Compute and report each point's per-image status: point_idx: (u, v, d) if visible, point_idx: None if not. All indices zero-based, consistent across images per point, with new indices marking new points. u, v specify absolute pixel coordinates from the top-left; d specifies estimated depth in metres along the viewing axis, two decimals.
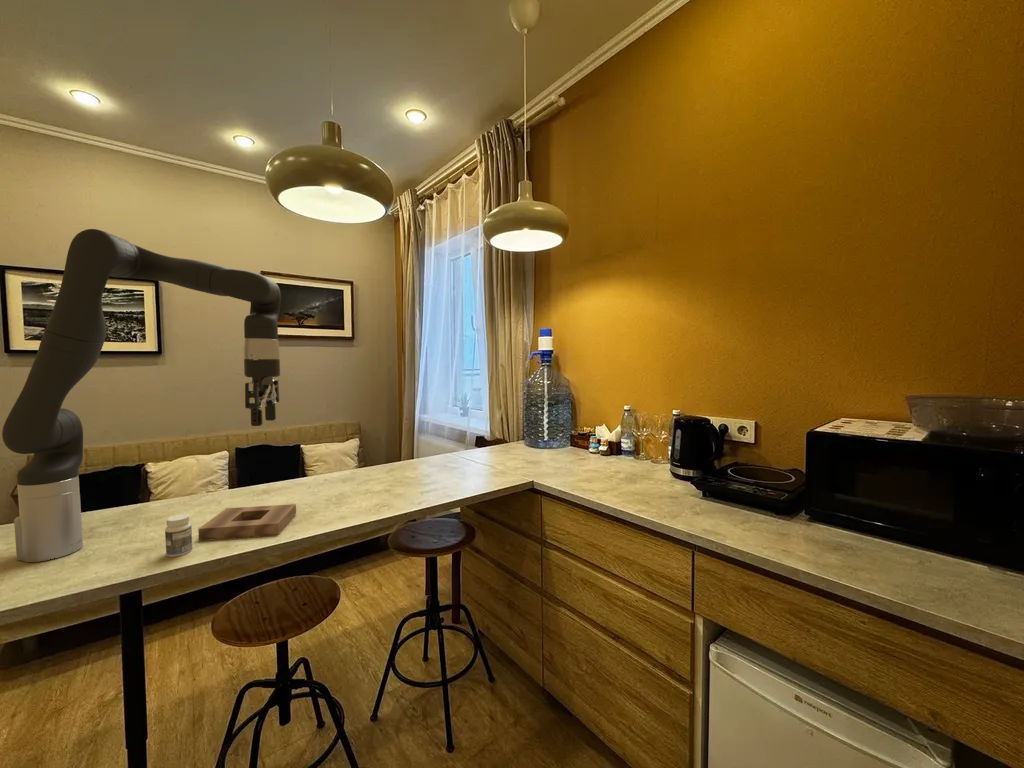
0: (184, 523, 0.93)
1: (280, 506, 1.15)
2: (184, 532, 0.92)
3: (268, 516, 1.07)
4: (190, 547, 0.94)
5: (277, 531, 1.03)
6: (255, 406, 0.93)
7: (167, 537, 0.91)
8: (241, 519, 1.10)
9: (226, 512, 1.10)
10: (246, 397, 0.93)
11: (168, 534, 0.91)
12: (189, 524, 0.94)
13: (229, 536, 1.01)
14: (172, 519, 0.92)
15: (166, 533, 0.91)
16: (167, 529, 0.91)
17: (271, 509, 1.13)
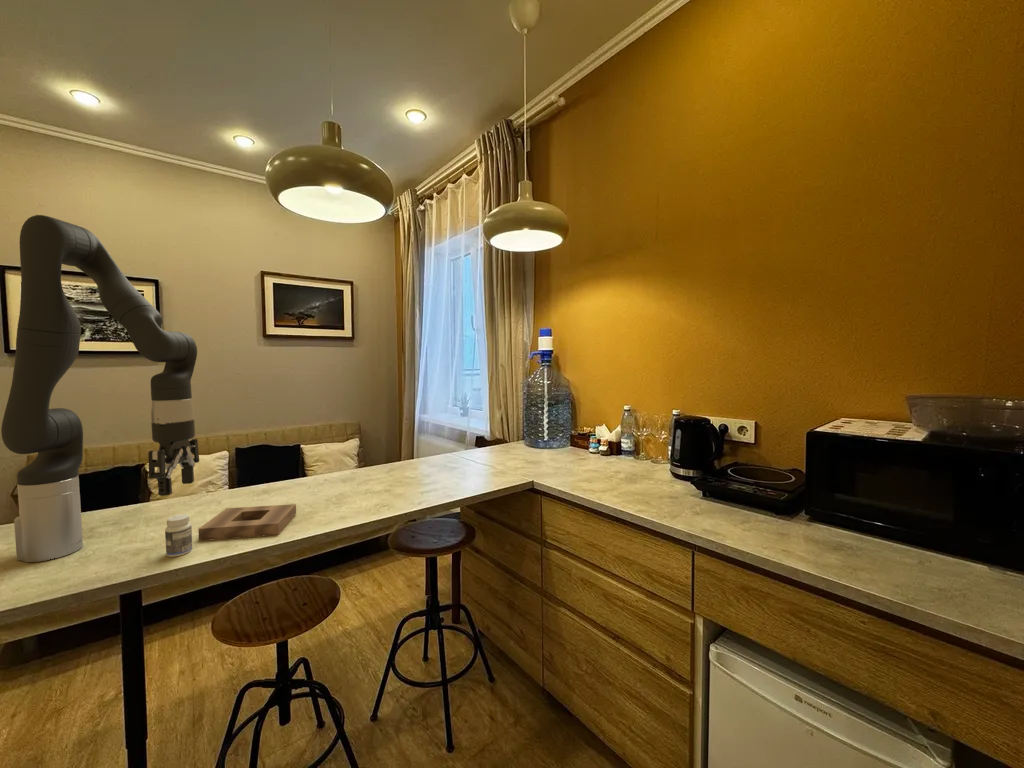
0: (184, 523, 0.93)
1: (280, 506, 1.15)
2: (184, 532, 0.92)
3: (268, 516, 1.07)
4: (190, 547, 0.94)
5: (277, 531, 1.03)
6: (160, 476, 0.86)
7: (167, 537, 0.91)
8: (241, 519, 1.10)
9: (226, 512, 1.10)
10: (150, 467, 0.85)
11: (168, 534, 0.91)
12: (189, 524, 0.94)
13: (229, 536, 1.01)
14: (172, 519, 0.92)
15: (166, 533, 0.91)
16: (167, 529, 0.91)
17: (271, 509, 1.13)
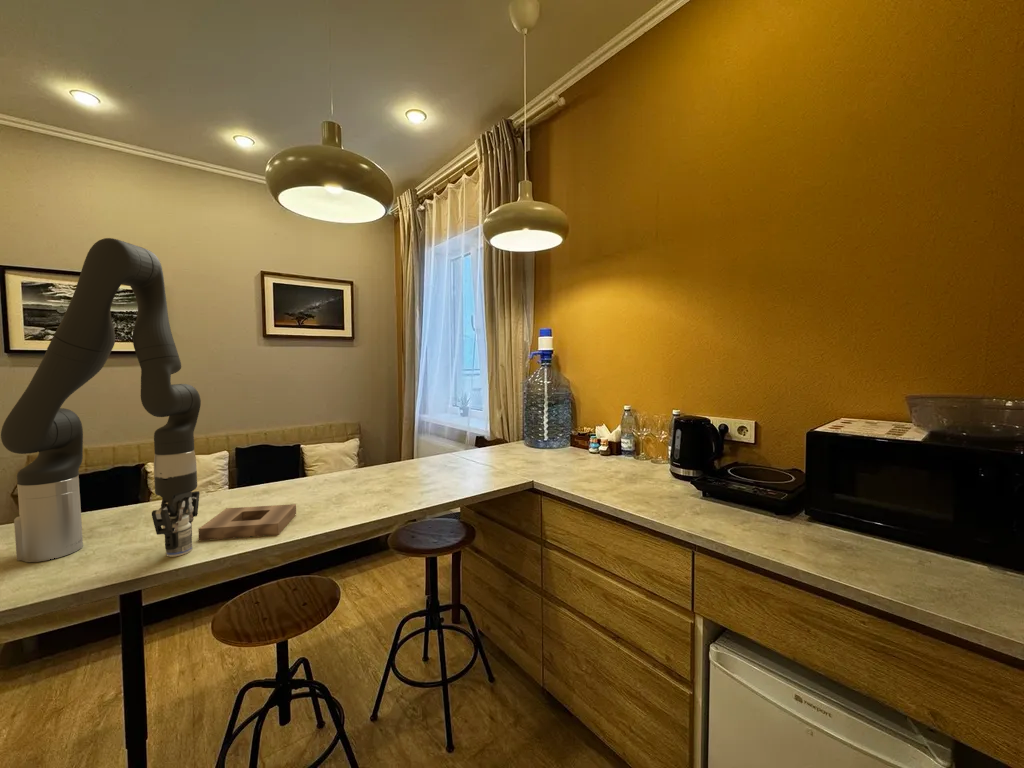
0: (184, 523, 0.93)
1: (280, 506, 1.15)
2: (184, 532, 0.92)
3: (268, 516, 1.07)
4: (190, 547, 0.94)
5: (277, 531, 1.03)
6: (167, 532, 0.88)
7: None
8: (241, 519, 1.10)
9: (226, 512, 1.10)
10: (155, 525, 0.87)
11: None
12: (189, 524, 0.94)
13: (229, 536, 1.01)
14: None
15: None
16: None
17: (271, 509, 1.13)
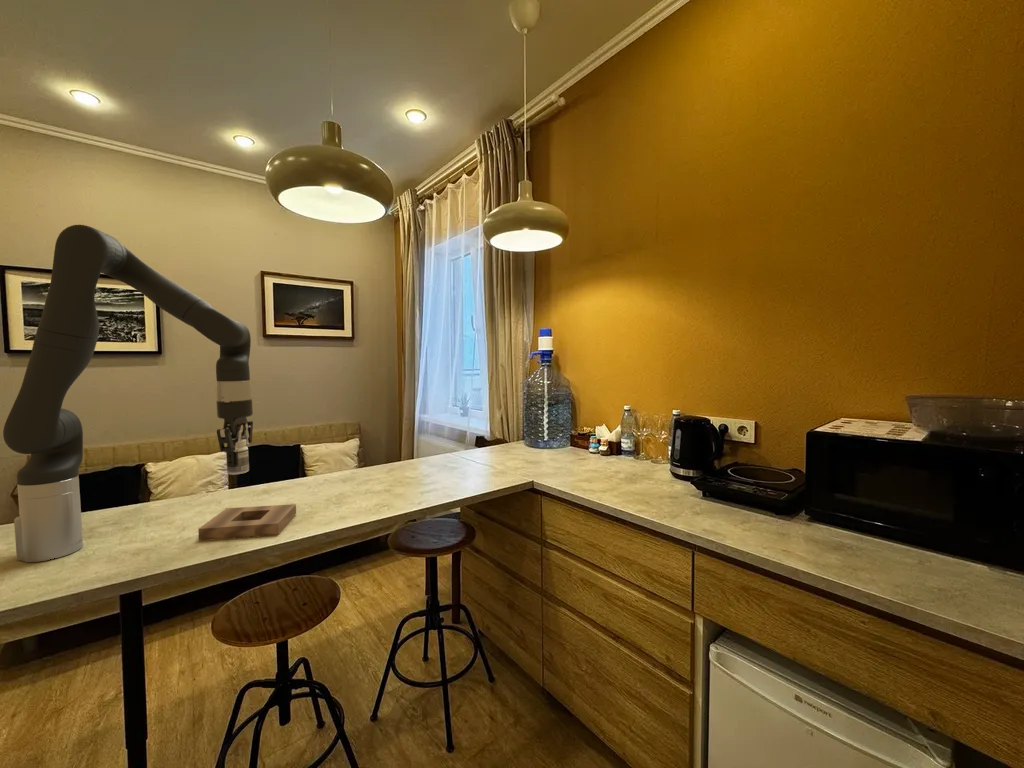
0: (242, 445, 1.03)
1: (280, 506, 1.15)
2: (242, 453, 1.03)
3: (268, 516, 1.07)
4: (247, 467, 1.05)
5: (277, 531, 1.03)
6: (230, 449, 0.99)
7: None
8: (241, 519, 1.10)
9: (226, 512, 1.10)
10: (220, 443, 0.98)
11: None
12: (246, 447, 1.05)
13: (229, 536, 1.01)
14: None
15: None
16: None
17: (271, 509, 1.13)
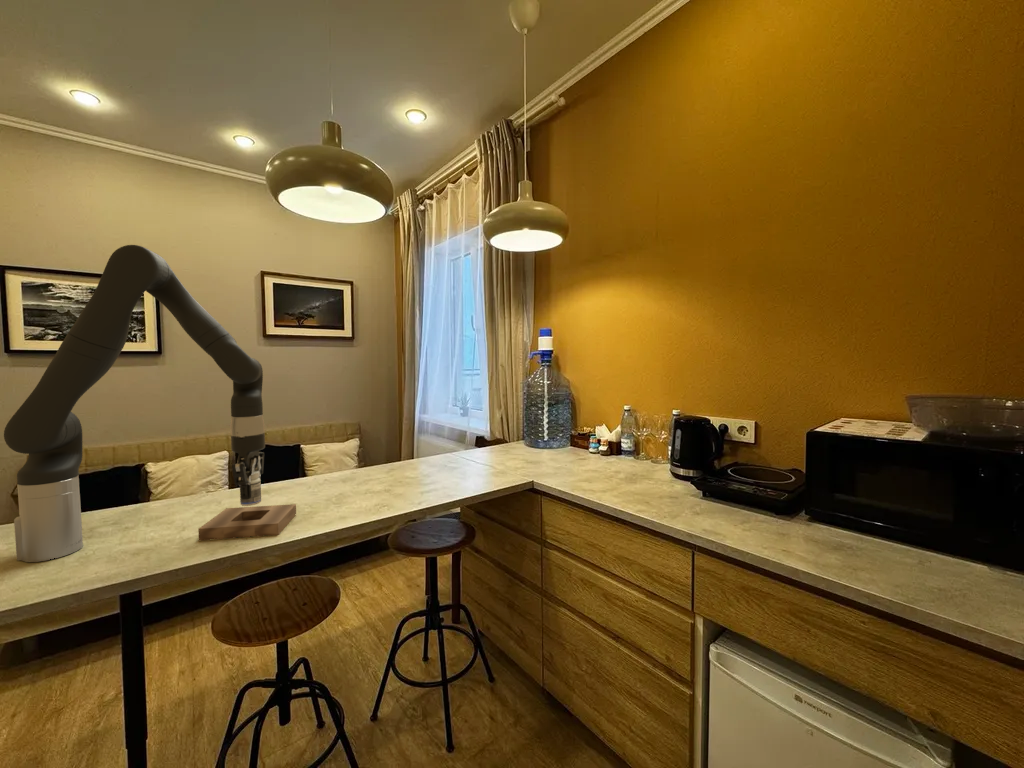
0: (255, 477, 1.07)
1: (280, 506, 1.15)
2: (255, 485, 1.07)
3: (268, 516, 1.07)
4: (260, 498, 1.08)
5: (277, 531, 1.03)
6: (244, 483, 1.02)
7: None
8: (241, 519, 1.10)
9: (226, 512, 1.10)
10: (234, 477, 1.01)
11: None
12: (259, 479, 1.08)
13: (229, 536, 1.01)
14: None
15: None
16: None
17: (271, 509, 1.13)
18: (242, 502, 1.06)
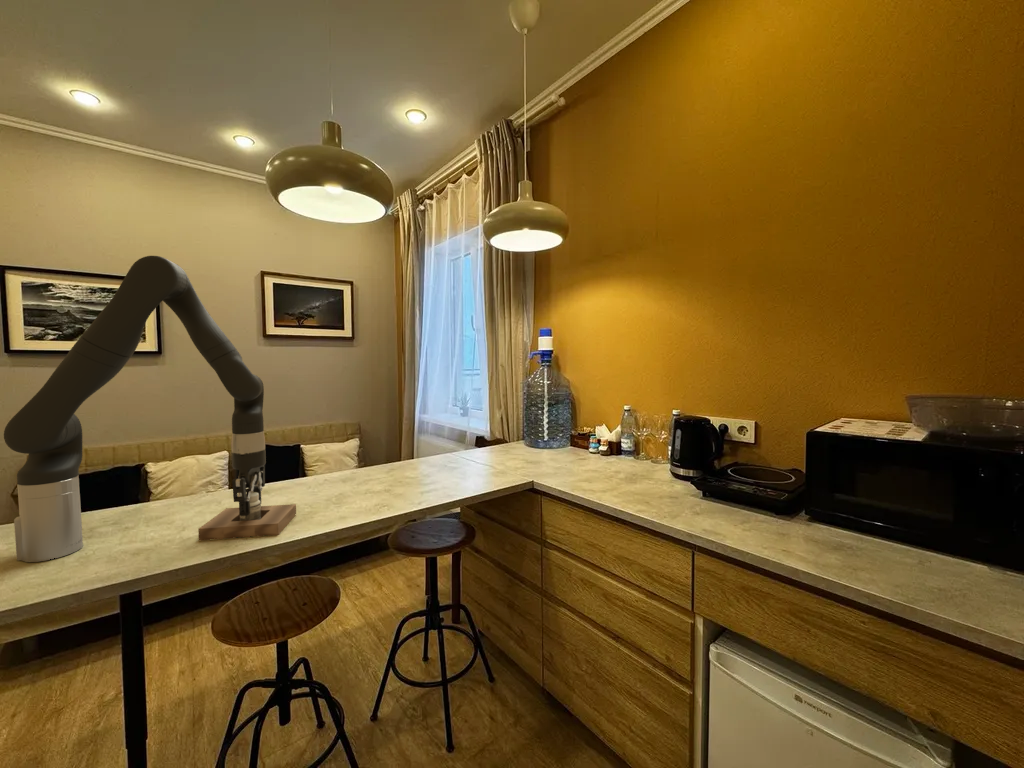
0: (256, 499, 1.07)
1: (280, 506, 1.15)
2: (255, 507, 1.07)
3: (268, 516, 1.07)
4: None
5: (277, 531, 1.03)
6: (243, 500, 1.02)
7: None
8: None
9: (226, 512, 1.10)
10: (234, 492, 1.01)
11: None
12: (259, 500, 1.09)
13: (229, 536, 1.01)
14: None
15: None
16: None
17: (271, 509, 1.13)
18: None
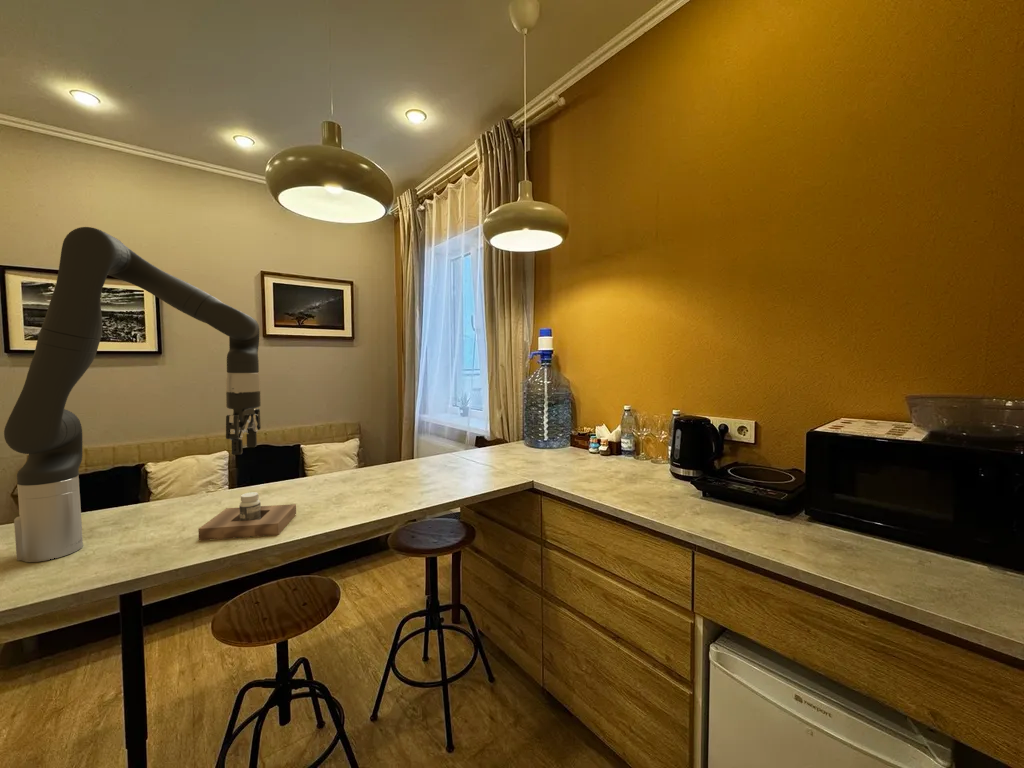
0: (255, 499, 1.07)
1: (280, 506, 1.15)
2: (255, 507, 1.07)
3: (268, 516, 1.07)
4: None
5: (277, 531, 1.03)
6: (235, 437, 1.00)
7: (242, 511, 1.06)
8: None
9: (226, 512, 1.10)
10: (227, 428, 1.00)
11: (242, 508, 1.06)
12: (259, 500, 1.09)
13: (229, 536, 1.01)
14: (246, 495, 1.07)
15: (241, 507, 1.06)
16: (242, 504, 1.06)
17: (271, 509, 1.13)
18: None
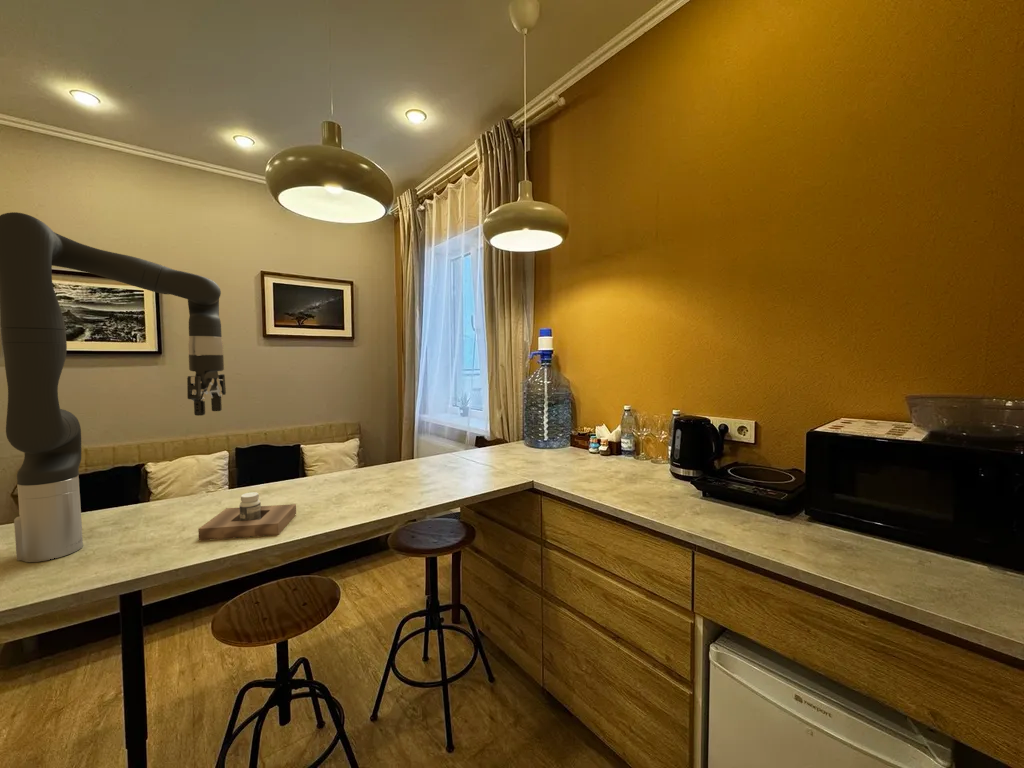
0: (255, 499, 1.07)
1: (280, 506, 1.15)
2: (255, 507, 1.07)
3: (268, 516, 1.07)
4: None
5: (277, 531, 1.03)
6: (197, 397, 1.03)
7: (242, 511, 1.06)
8: None
9: (226, 512, 1.10)
10: (188, 389, 1.03)
11: (242, 508, 1.06)
12: (259, 500, 1.09)
13: (229, 536, 1.01)
14: (246, 496, 1.07)
15: (241, 508, 1.06)
16: (242, 504, 1.06)
17: (271, 509, 1.13)
18: None
